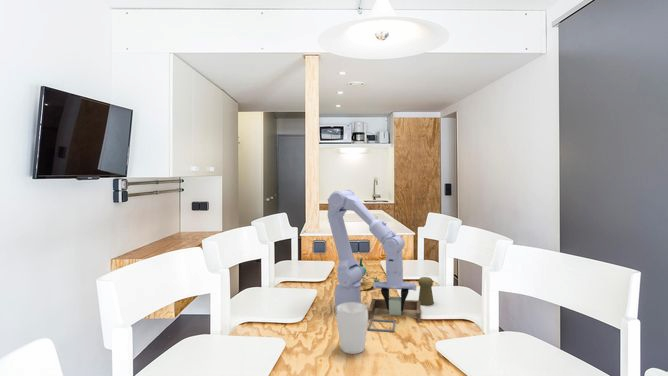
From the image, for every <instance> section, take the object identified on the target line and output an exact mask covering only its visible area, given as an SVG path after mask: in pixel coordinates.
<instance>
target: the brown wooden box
mask: <svg viewBox="0 0 668 376" xmlns="http://www.w3.org/2000/svg"><path fill="white" fill-rule="evenodd" d="M421 309H422V305H420V301H418V300H413V299H411V300H410V299H406V300H405V303H404V307H403V311H402V312H401V315H389V310H387V305H386V302H385V299H384V298H372V299H371V301H370V304H369V307H368V308H367V313H368V320H370V319H374V316H377V317H379V316H380V317H396V318H397V317H398V318H400V317H401V318H413V319H414V318H415V319H416V323H421V322H422V321H421V313H422V312H421V311H422V310H421Z"/></svg>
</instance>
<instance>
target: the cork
mask: <svg viewBox="0 0 668 376" xmlns="http://www.w3.org/2000/svg"><path fill="white" fill-rule="evenodd" d="M417 283H418V286H419V294H418V299H417V301H420V306H424V307H425V306H426V307H431V306H433V305H434V304H435V302H434V301H435V300H434V295H433V290H432V287H433V284H434V282H433V279H432V278H431V277H429V276H428V277H427V276H422V277H420V278H419V279H418V282H417Z"/></svg>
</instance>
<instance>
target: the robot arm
mask: <svg viewBox="0 0 668 376" xmlns="http://www.w3.org/2000/svg"><path fill="white" fill-rule="evenodd" d="M327 202H328V208H327V220H328V223H329V226H330V230H331V234H332V239H333V241H334V245H335V248H336V249H335V250H336V252H337V253H336V254H337V258H338V264H337V267H336V270H337V277H336V278H337V282H338V284H336V285H335V289H334V312H336V313H337V306H338V305H340V304H342V303H347V302H357V303H362V292H361V291H362V290H361V282H362V280H363V279H364V278H363V277H364V276H363V270H362V268H361V267H360V266H359V264H360V262H359V260H357V259H356V258H355V257H354V254H353V249H352V245H351V243H350V238H349V236H348V235H349V234H348V232H347V227H346V224H345V219H344V216H345V214H346V213H347V211H353V212H354V213H355V214H356V215H357V216H358V217H359V218H361V220H363V221H364V223H366V224H367V225H368V228H369V232H370V233H371V234H372V235H373V237H375V238H376V239H377V241H378V242H380V244H381V246H382V249H383V251H384V253H385V276H386V281H380V282H375V281H373V282H374V287H373V290H377V289H380V290H381V291H380V293H381V296H382V297H383V299H385V302H386V305H387V310H389V298H390V290H401V291H400V297H401V311H403V307H404V303H405V300H407V298H408V295H409V290H410V291H417V283H414V282H413V283H412V282H405V281H404V266H403V264H404V263H403V258H404V257H403V249H404V248H405V244H406V243H405V240H404V238H403V236H401V235H399V234H396V232H395V231H393V230H391V228H390V227H389V226H388V225H387V222H386V221H385V220H383V219H376V217H375V216H374V215H373V214H372V212H370V211H369V209H368V207H366V206H365V203H364V204H363V202H362V201H361V200H360V197H359V195H357V194H355V192H354V191H352V190H351V189H345V190H337V191H336V190H335V191H333V192H332V193H331V194H330V195H329V197H328V199H327Z"/></svg>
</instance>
